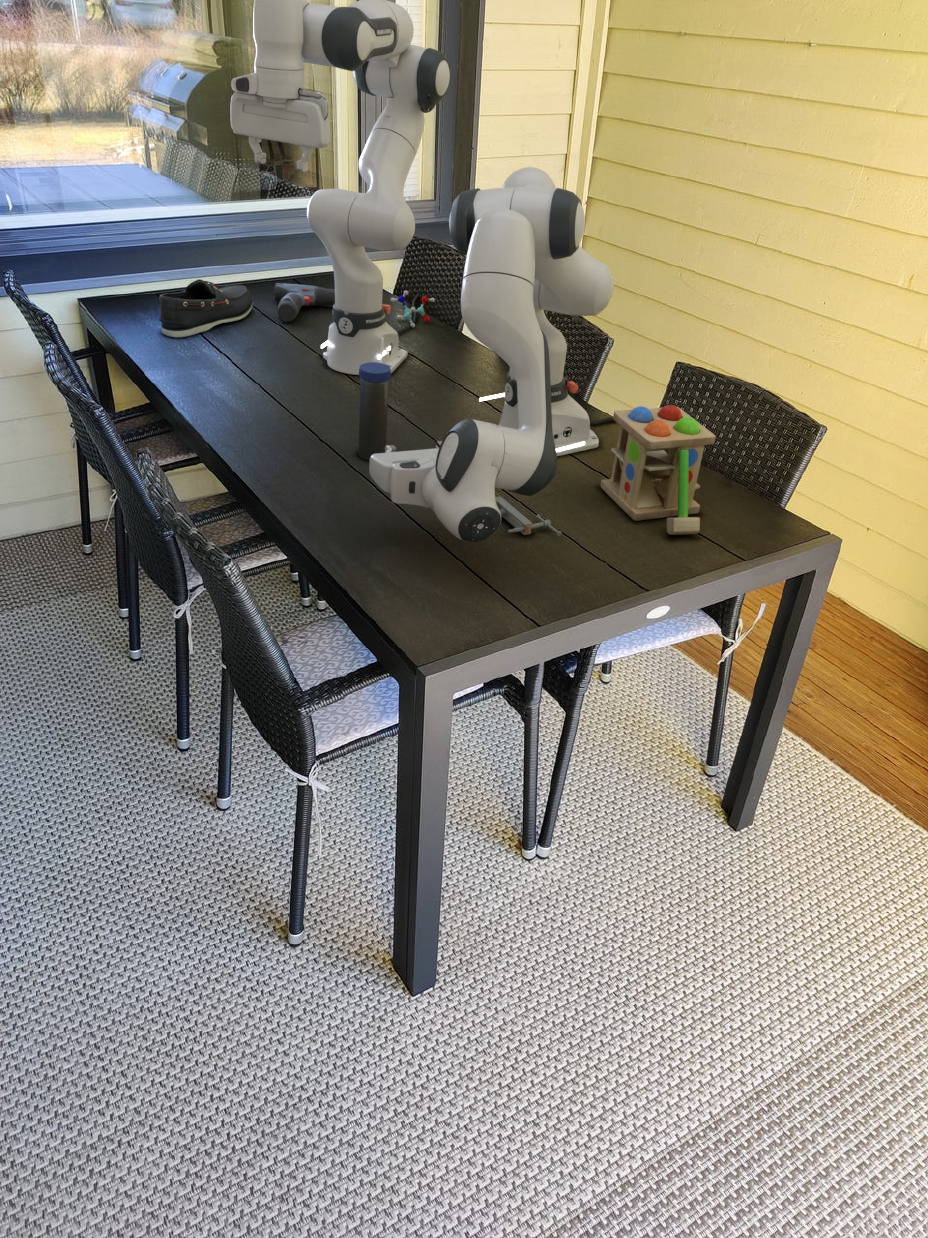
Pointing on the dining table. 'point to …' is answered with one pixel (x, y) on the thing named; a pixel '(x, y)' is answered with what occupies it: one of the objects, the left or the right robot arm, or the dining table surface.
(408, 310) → the molecular model
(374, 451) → the dark grey bottle
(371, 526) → the dining table surface
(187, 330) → the boat shoe
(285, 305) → the power drill
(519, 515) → the clamp
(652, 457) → the pounding bench toy
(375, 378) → the lid
